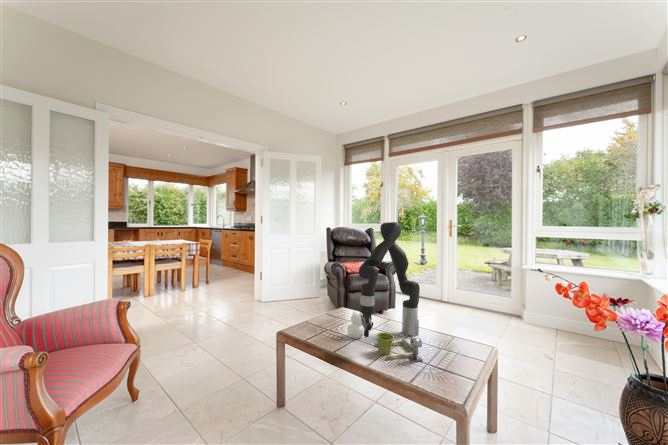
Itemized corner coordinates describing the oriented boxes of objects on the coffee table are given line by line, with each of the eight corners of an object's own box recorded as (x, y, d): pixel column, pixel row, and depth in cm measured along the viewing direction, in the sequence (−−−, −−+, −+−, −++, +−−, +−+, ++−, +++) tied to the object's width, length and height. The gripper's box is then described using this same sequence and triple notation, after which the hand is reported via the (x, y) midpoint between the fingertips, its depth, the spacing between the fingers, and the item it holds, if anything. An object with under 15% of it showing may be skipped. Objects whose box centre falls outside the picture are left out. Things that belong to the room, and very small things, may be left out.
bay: (403, 343, 153) (403, 338, 153) (418, 356, 138) (418, 350, 138) (374, 346, 149) (374, 340, 149) (386, 359, 134) (386, 353, 134)
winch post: (417, 356, 138) (417, 331, 138) (422, 361, 133) (423, 335, 133) (404, 357, 136) (405, 332, 136) (409, 362, 131) (410, 336, 132)
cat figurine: (366, 336, 162) (367, 312, 162) (354, 342, 153) (355, 316, 153) (355, 332, 168) (356, 308, 168) (342, 337, 159) (343, 312, 159)
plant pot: (395, 350, 144) (395, 334, 144) (391, 358, 135) (391, 341, 136) (378, 347, 148) (378, 331, 148) (373, 354, 139) (374, 337, 140)
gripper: (379, 307, 134) (377, 341, 134) (369, 300, 147) (368, 331, 147) (365, 307, 132) (363, 342, 132) (356, 300, 145) (355, 332, 145)
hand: (366, 336), depth 139 cm, fingers closed
